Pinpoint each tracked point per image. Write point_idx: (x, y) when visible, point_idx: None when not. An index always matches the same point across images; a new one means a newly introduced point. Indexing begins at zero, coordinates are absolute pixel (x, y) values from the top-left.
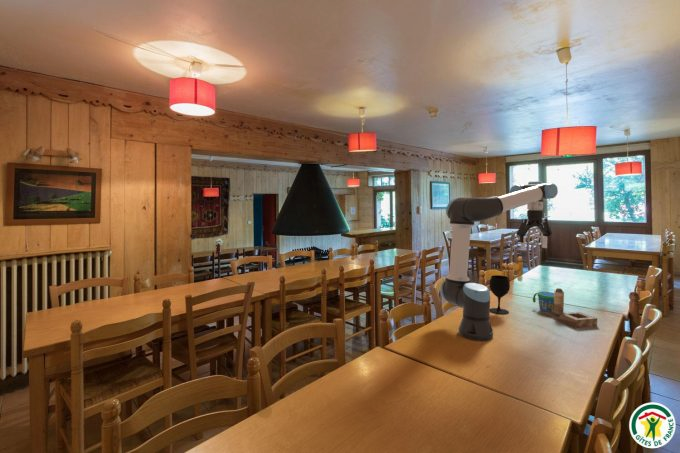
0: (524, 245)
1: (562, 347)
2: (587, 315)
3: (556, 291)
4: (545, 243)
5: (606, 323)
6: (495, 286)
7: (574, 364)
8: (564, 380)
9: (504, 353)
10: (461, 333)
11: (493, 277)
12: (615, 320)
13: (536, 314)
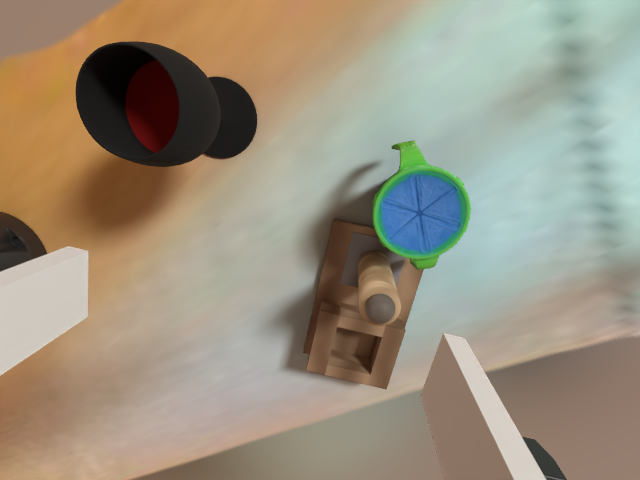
0: (33, 341)
1: (168, 396)
2: (387, 362)
3: (365, 304)
4: (441, 446)
5: None
6: (111, 128)
7: (121, 445)
8: (54, 465)
9: None
10: None
11: (76, 97)
12: (520, 356)
13: (330, 207)
